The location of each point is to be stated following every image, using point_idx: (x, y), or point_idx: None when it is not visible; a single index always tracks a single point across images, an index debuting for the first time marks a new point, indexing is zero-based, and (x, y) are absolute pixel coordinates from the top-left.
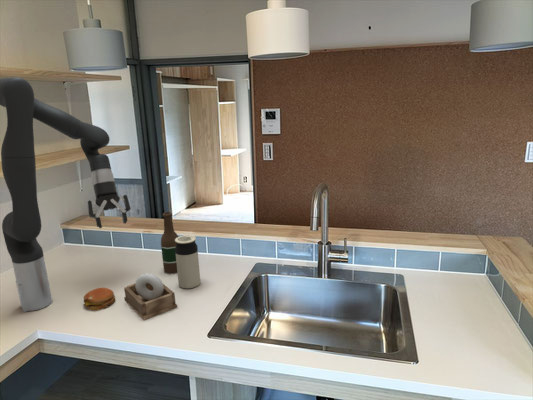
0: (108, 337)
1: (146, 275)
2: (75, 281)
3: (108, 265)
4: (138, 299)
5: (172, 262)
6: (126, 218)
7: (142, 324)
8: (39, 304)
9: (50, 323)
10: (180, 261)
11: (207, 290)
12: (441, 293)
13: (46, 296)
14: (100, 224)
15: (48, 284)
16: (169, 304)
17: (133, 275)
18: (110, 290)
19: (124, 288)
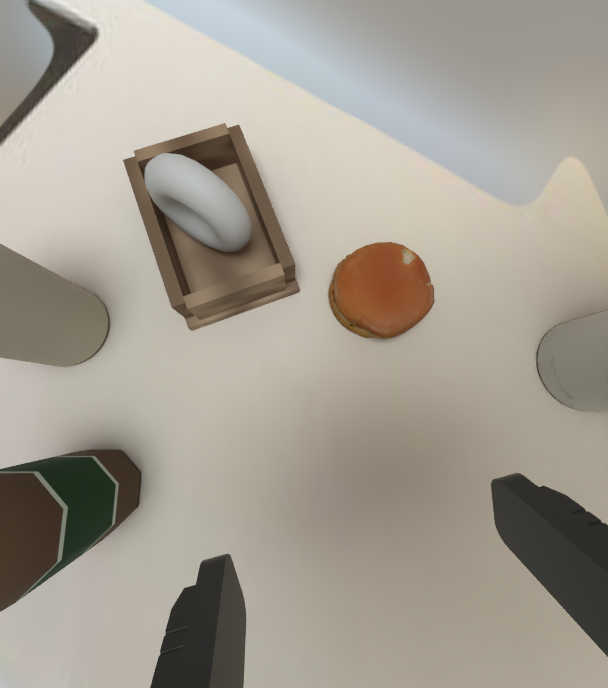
0: (334, 109)
1: (190, 161)
2: None
3: (381, 662)
4: (246, 159)
5: (76, 456)
6: (176, 626)
7: (249, 135)
8: (572, 320)
9: (500, 228)
10: (12, 253)
11: None
12: None
13: (568, 333)
14: (530, 493)
15: (595, 352)
16: None
17: (268, 491)
18: (345, 292)
19: (293, 262)
